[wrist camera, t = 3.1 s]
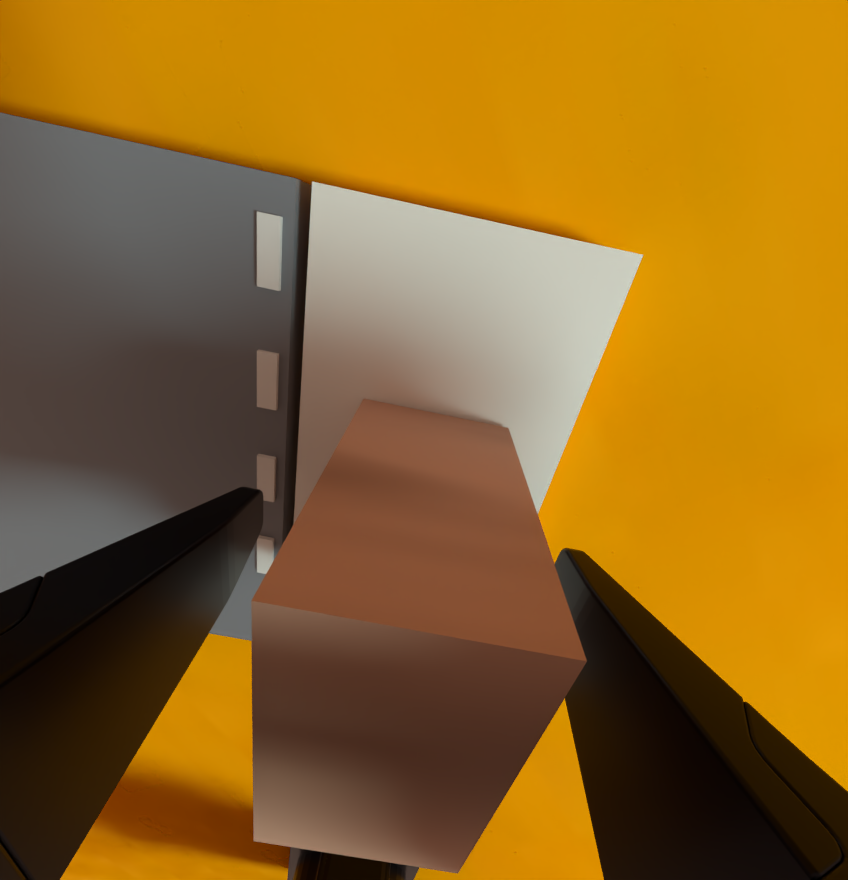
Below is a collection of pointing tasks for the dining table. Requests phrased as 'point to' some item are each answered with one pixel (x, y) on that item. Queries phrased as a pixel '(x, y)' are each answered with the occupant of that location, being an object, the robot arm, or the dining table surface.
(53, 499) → the board
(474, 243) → the stub
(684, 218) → the dining table surface
